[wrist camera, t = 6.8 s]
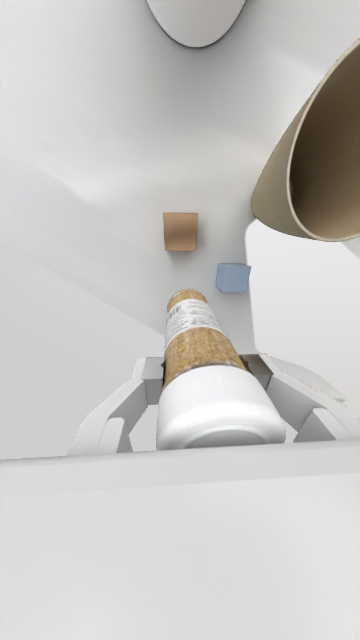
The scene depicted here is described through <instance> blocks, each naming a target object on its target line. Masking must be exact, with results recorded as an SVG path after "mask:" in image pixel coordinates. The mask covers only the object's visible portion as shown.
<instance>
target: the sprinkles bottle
mask: <svg viewBox="0 0 360 640" xmlns="http://www.w3.org/2000/svg"><path fill="white" fill-rule="evenodd" d="M167 311H168V316H167V324H166V337H165V351H164V352H165V353H164V358H165V373H164V386H163V388H162V394H161V396H160V399H159V404H158V405H159V406H158V418H157V437H156V448H157V451H159V450H176V449H193V448H210V447H227V446H244V445H261V444H278V443H284V442H285V437H286V429H285V425H284V422H283V420H282V418H281V416H280V415H279V413H278V411H277V410H276V408H275V406H274V405H273V403H272V401H271V400H270V398H269V397H268V395H267V393H266V392H265V390H264V389H263V387H262V385H261V384H260V382H259V381H258V380H257V379H256V378H255V377H254V376H253V375H252V374H251V373H250V372H249V371H247V370H246V368H245V366H244V364H243V363H242V361H241V360H240V358H239V356H238V354H237V353H236V351H235V349H234V348H233V346H232V343H231V341H230V339H229V338H228V336H227V334H226V333H225V331H224V329H223V328H222V326H221V324H220V323H219V321H218V320H217V318H216V316H215V315H214V313H213V311H212V310H211V308H210V307H209V306H208V304H207V301H206V299H205V297H204V296H203V295H202V294H201V293H200V292H198V291H196V290H193V289H185V290H181V291H178V292H177V293H175V294H174V295H173V296H172V298H171V299H170V300H169V303H168V306H167Z"/></svg>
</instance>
